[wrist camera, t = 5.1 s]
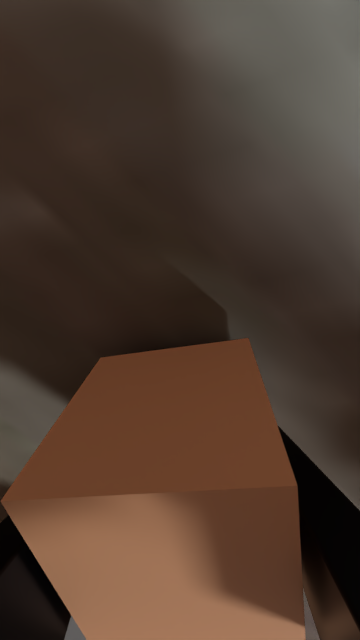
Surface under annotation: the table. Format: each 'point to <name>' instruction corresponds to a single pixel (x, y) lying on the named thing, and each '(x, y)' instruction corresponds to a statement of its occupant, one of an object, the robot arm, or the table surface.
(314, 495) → the robot arm
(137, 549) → the terracotta cube
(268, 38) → the table surface
